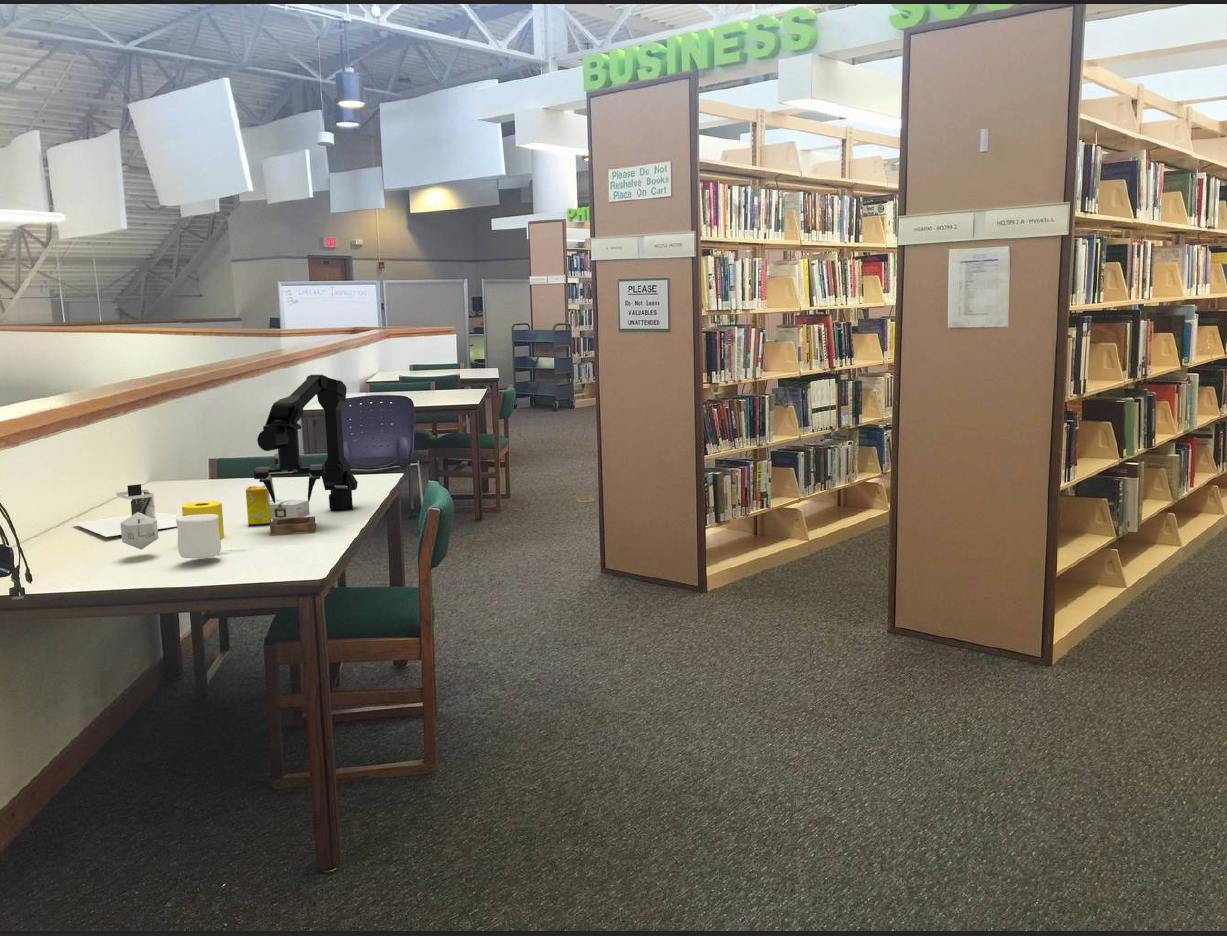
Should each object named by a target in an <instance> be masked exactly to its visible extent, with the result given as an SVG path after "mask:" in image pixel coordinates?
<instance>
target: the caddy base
mask: <svg viewBox="0 0 1227 936" xmlns="http://www.w3.org/2000/svg"><path fill="white" fill-rule="evenodd" d="M317 525H318V524H317V523H316V516H303V517H295V518H279V519H273V520H271V523H270V525H269V534H268V535H269V536H280V535H281V536H282V535H297V534H313V533H316V530H317V529H316V528H317Z"/></svg>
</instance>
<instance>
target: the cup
mask: <svg viewBox="0 0 1227 936" xmlns="http://www.w3.org/2000/svg"><path fill="white" fill-rule="evenodd" d="M218 517H219V516H218V515H216V514H199V515H189V516H183V515H182V516H177V518H176V519H175V520H176V523H177V526H176V528H177V549H178V554H179V556H180V557H181V558H183V559H205V558H206V559H207V558H210V557H216V556H218V555H219V554H220V553H221V551H222V550H221V549H222V543H221V542H222V540H221V539H220V534H219V526H218Z"/></svg>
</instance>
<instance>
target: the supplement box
mask: <svg viewBox="0 0 1227 936" xmlns="http://www.w3.org/2000/svg"><path fill="white" fill-rule="evenodd" d="M245 498H246V511H247V523H248V528H252V527H253V528H254V527H268V526H269V527H270V525H271V523H272V520H271V512H270V501H271V500H270V498H271V497H270V493H269V491H268V489H267V488H266V486H265V485H257V486H255V485H253V486H248V487H246V489H245Z"/></svg>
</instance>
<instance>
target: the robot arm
mask: <svg viewBox="0 0 1227 936" xmlns="http://www.w3.org/2000/svg"><path fill="white" fill-rule="evenodd" d="M347 390H348V388H347V385H346V384H345V383H344V382H343V381H342V380H338V379H335V378H331V377H328V376H326V375H324V374H310V375H308V376H306V379H305V380H304V381H303V382H302V383H301V384H300V385H299V386H298V387H297V388H296V389H295V390H294V391H293V392H292V393H291V394H290V395H288V396H286V397H283V398H280V399H278V400H276V401H275V402H273V404H272V406H271V407H270V411H269V413H268V417H267V419H266V422H265V424H264V425H263V427H262V431H260V432H259V434H258V436H257V440H256V441H257V445H258V448H260V449H261V450H263V451H265V452H270V451H275V450H277V453H274V465H275V466H278V468H271V467H270V466H256V468H255V469H254V470H253V479H254V480H258V481H259V483H263V484H264V485H263V486H266V488H267V489H268V491H269V497H270V498H271V500H273V502H274V503H275V500H276V494H275V489H274V484H273V477H274V476H290V475H291V476H292V475H306V474H307V475H309V476H308V484H307V485H308V488H307V500H308V501H309V502H311V501H310V500H311V497H312V492H313V489H314V486H315V484H316V480H320V479H321V481H322V483H323V486H324V490H325V491H330V493H329V494H328V507H329V509H330V511H331V512H340V511H343V512H344V511H353V510H354V505H353V491H356V490H357V489H358V483H359V482H358V480H357V478H355V476H354V474H353V473H352V470H351V464H350V462H349V461H348V460H347V459H346V457H345V452H344V451H345V449H344V437H343V435H344V434H343V421H342V420H343V419H342V408H343V407H344V405H345V404H346V401H347ZM315 396H316V398H317V402H318V404H319V405H320V407H321V408H322V409H323V412H324V426H325V428H324V429H325V441H326V457H327V458H326V460H325V462H324V463H311V464H309V466H308V467H304V466H303V467H302V460H301V459H302V458H301V456H300V454H301V453H300V441H299V439H300V437H299V430H301V429H302V427H303V426H301V424H299V421H300V420H301V419H302V416H303V415H304V408H305V406H307V405H308V403H310V401H311V400H313V399H314V397H315ZM272 476H273V477H272Z"/></svg>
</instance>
